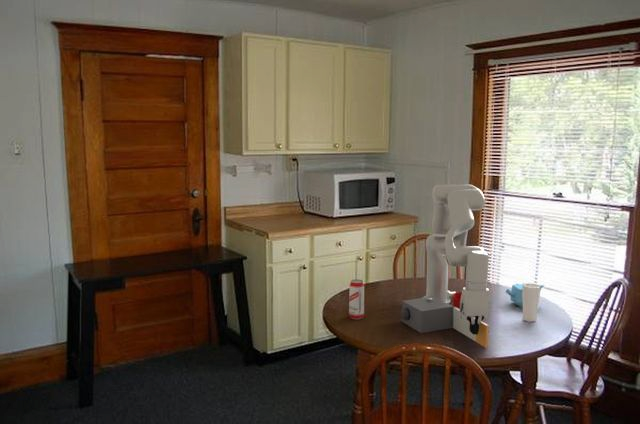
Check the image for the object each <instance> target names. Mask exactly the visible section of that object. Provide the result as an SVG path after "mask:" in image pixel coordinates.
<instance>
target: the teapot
mask: <svg viewBox="0 0 640 424" xmlns="http://www.w3.org/2000/svg"><path fill="white" fill-rule="evenodd" d="M523 284H526V282H523V283H520V284H519V283H515V284H512V285H511V290H510V289H508V288H507V289H506V290H505V293H506V294H508V296H510V301H511V302H512V303H513V304H514V305H517V306H518V308H521V309H523V296H522V293H523ZM539 286H540V292H541V290H542V288H543V287H544V286H545V284H541V285H539Z"/></svg>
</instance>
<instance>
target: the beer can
mask: <svg viewBox="0 0 640 424" xmlns="http://www.w3.org/2000/svg"><path fill="white" fill-rule="evenodd" d="M348 293H349V298H348V299H349V301H348V315H349V318H350V319H352V320H356V321H357V320H358V321H359V320H362V319H363V318H364V316H365V283H364V280H362V279H358V278H357V279H352V280H350V282H349V292H348Z"/></svg>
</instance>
